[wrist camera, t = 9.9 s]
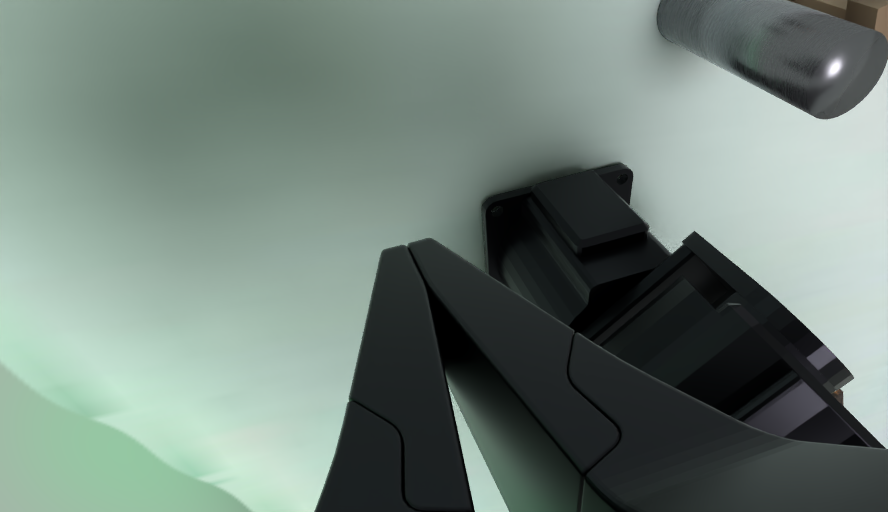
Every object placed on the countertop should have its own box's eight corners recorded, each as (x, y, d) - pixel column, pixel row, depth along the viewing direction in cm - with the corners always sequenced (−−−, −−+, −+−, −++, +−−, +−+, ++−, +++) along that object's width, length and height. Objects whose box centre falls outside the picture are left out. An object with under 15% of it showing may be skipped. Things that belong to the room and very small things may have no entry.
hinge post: (710, 35, 22) (868, 109, 16) (653, 47, 21) (795, 127, 16) (724, -35, 20) (903, 22, 15) (662, -23, 20) (823, 40, 14)
